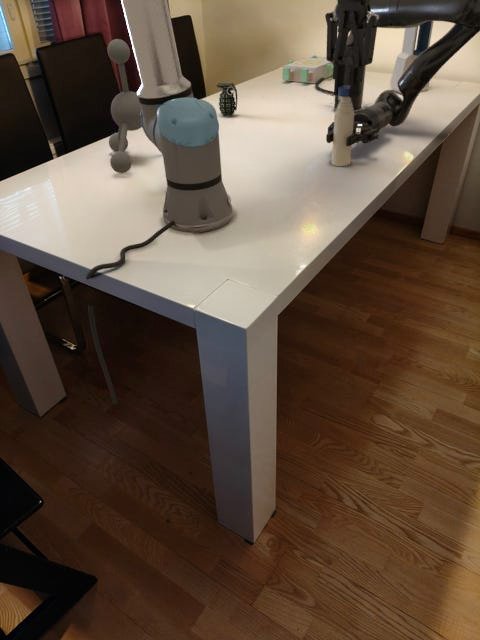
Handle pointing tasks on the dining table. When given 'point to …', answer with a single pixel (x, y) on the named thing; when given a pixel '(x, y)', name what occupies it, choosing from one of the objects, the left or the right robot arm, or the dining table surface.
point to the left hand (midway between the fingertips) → (346, 95)
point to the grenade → (227, 99)
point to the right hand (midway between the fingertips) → (337, 140)
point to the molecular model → (123, 109)
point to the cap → (344, 90)
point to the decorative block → (308, 70)
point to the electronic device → (411, 51)
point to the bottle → (342, 132)
